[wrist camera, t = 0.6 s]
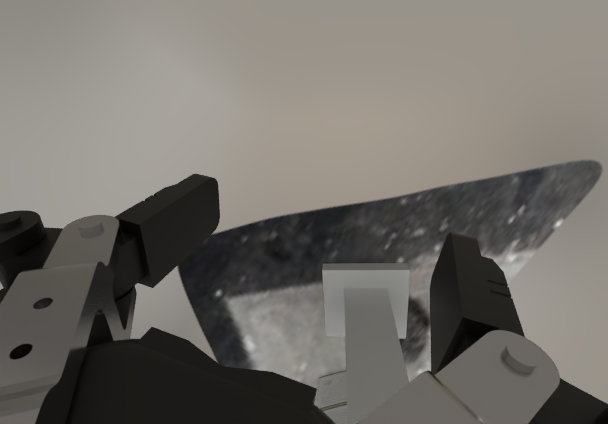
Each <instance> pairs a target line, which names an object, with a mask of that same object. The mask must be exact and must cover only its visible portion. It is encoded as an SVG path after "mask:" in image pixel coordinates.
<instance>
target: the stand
mask: <svg viewBox="0 0 608 424" xmlns="http://www.w3.org/2000/svg"><path fill="white" fill-rule="evenodd" d="M322 275H323V293H324V312H325V330H326V337H345V340H346V378H347V416H348V424H356V423H358V422H359V421H360V420H362V419H363V418H364V417H366V416H367V415H368V414H369V413H371V412H372V411H373V410H375V409H376V408H377V407H378V406H380V405H381V404H382V403H384V402H385V401H386V400H388V399H389V398H390V397H391V396H393V395H394V394H395V393H397V392H398V391H399V390H400V389H402V388H403V387H404V386H406V385H407V384H408V383H409V380H408V376H407V372H406V367H405V363H404V359H403V354H402V350H401V346H400V342H399V338H406V328H407V313H408V297H409V282H410V268H409V265H408V263H335V264H323V268H322Z"/></svg>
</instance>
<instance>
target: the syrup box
mask: <svg viewBox="0 0 608 424" xmlns="http://www.w3.org/2000/svg"><path fill="white" fill-rule="evenodd" d="M318 408H319V409H321V410H322V411H323V412H324V413H325V414H326V415H327V416H329V417H330V418H331V419H332V420H333V422H334V423H335V424H348V416H347V378H346V371H344V372H340V373H336V374H332V375H329V376H325V377H322V378H319V391H318Z"/></svg>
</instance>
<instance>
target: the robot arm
mask: <svg viewBox="0 0 608 424" xmlns="http://www.w3.org/2000/svg"><path fill="white" fill-rule="evenodd" d="M219 219H220V210H219V193H218V182H217V180H216V179H214V178H212V177H208V176H203V175H199V174H193V175H191V176H190V177H188V178H186V179H184V180H183V181H181V182H179V183H178V184H176V185H172V186H169V187H166V188H164V189H162V190H160V191H159V192H157V193H155V194H154V196H150V197H148V198H147V199H145V201H141V202H140V203H138V204H136V205H134V206H133V207H131V208H129V209H128V210H126V211H124V212H122V213H121V214H119V215H117V216H116V217H112V216H107V215H94V216H88V217H84V218H81V219H78V220H75V221H73V222H71V223H70V224H68V225H67V226H65V227H64V229H60V228H44V226H43V223H42V221H41V218H40V216H39V214H37V213H36V212H32V211H14V212H7V213H3V214H0V282H1V284H2V285H3V287H4V288H3V289H1V290H0V424H335V423H334V422H333V420H332V419H331V418H330V417H329V416H327V415H326V414H325V413H324V412H323V411H322V410H321V409H319V408H318V407H317V406H315V405H314V401H315V396H316V390H317V389H316V388H313V387H311V386H308V385H305V384H303V383H300V382H297V381H295V380H292V379H289V378H287V377H284V376H281V375H279V374H276V373H273V372H268V371H259V370H249V369H240V368H231V367H224V366H222V365H220V364H218V363H217V362H216V361H214V360H213V359H212V358H210V357H209V356H208V355H207V354H205V353H204V352H203V351H201V350H200V349H199V348H197V347H196V346H195V345H194V344H192V343H191V342H190V341H188V340H186V339H183V338H180V337H178V336H175V335H172V334H170V333H167V332H164V331H161V330H159V329H156V328H154V327H151V329H149V330H148V331H147V333H146V334H145V335H144V336H143V337H142V338H141V339H130V336H131V329H132V322H133V315H134V308H135V301H136V289H135V284H137V283H140V284H143V285H146V286H149V287H152V288H153V287H154V286H155V285H156V284H158V283H159V282H160V281H161V280H162V279H163V278H164V277H165V276H166V275H168V274H169V273H170V272H171V271H172V270H173V269H174V268H175V267H176V266H177V265H178V264H179V263H181V262H182V261H183V260H184V259H185V258H186V257H187V256H188V255H189V254H190V253H191V252H192V251H194V250H195V249H196V248H197V247H198V246H199V245H200V244H201V243H202V242H203V241H204V240H205V239H207V238H208V237H209V236H210V235H211V234H212V233H213V232H214V231H215V230H216V228H217V226H218V223H219ZM507 285H508V284H507V281H506V278H505V275H504V272H503V271H502V270H501V269H500V268H499V266H498V265H497V264H496V263H495V262H494V261H493V260H492V259H490V258H486V257H482V256H481V253H480V249H479V245H478V241H477V239H476V238H472V237H468V236H464V235H459V234H455V233H451V232H450V233H449V234H448V236H447V238H446V240H445V243H444V245H443V248H442V251H441V253H440V256H439V259H438V261H437V264H436V266H435V269H434V272H433V275H432V279H431V285H430V324H431V371H425V372H423V373H422V374H420V375H419V376H417V377H416V378H415V379H413V380H412V381H411V382H410V383H408V384H407V385H406V386H404V387H403V388H402V389H400V390H399V391H398V392H397V393H395V394H394V395H393V396H391V397H390V398H389V399H388V400H386V401H385V402H384V403H382V404H381V405H380V406H378V407H377V408H376V409H375V410H373V411H372V412H371V413H369V414H368V415H367V416H366V417H364V418H363V419H362V420H360V421H359V422H358V423H356V424H608V404H606V403H604V402H603V401H601V400H599V399H597V398H595V397H593V396H592V395H590V394H588V393H586V392H584V391H582V390H580V389H578V388H577V387H575V386H573V385H571V384H569V383H567V382H566V381H564V380H562V379H561V378H560V376H559V373H558V370H557V367H556V365H555V364H554V362H553V361H552V359H551V358H550V357H549V356H548V355H547V354H546V353H545V352H544V351H543V350H542V349H541V348H540V347H539V346H537V345H536V344H535V343H533V342H531V341H530V340H528V339H527V338H525V336H524V333H523V330H522V327H521V324H520V321H519V318H518V315H517V312H516V309H515V305H514V303H513V299H512V298H511V294H510V291H509V288H508V287H507Z"/></svg>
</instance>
